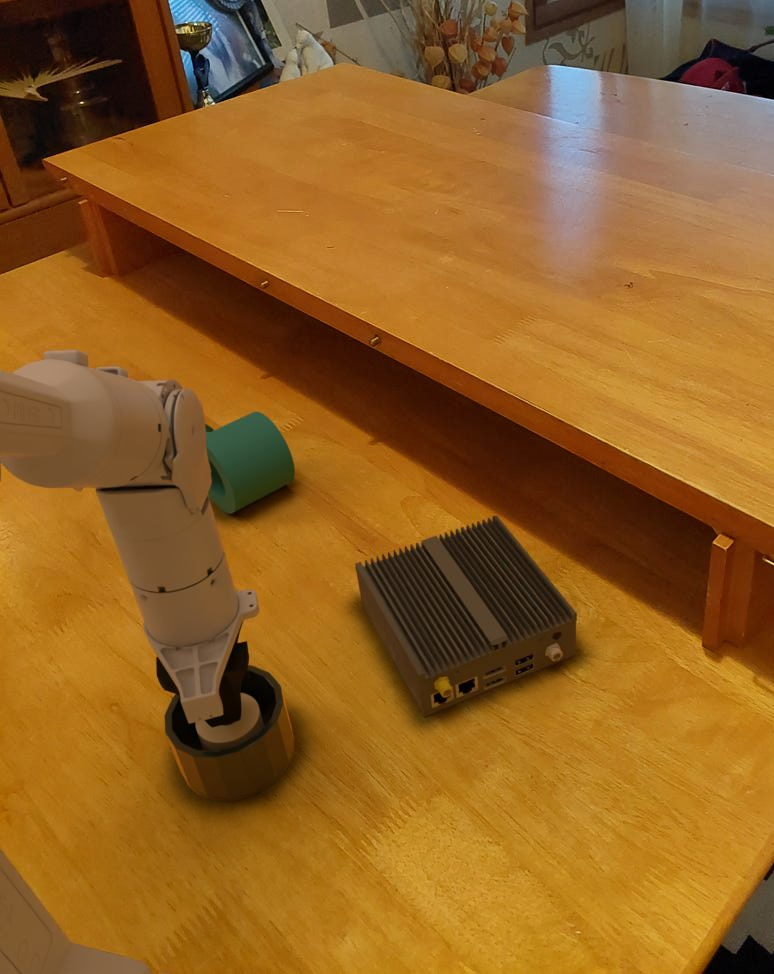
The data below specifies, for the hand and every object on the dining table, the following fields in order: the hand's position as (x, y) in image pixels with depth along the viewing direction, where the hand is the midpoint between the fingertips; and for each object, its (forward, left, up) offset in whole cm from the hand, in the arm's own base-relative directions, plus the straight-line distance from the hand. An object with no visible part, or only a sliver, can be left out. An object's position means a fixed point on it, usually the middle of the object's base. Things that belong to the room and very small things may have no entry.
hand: (224, 708), depth 64 cm
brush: (0, 0, -4) cm, 4 cm away
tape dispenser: (+26, +23, -5) cm, 35 cm away
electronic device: (+18, -9, -5) cm, 21 cm away
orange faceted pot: (0, 0, -5) cm, 5 cm away
